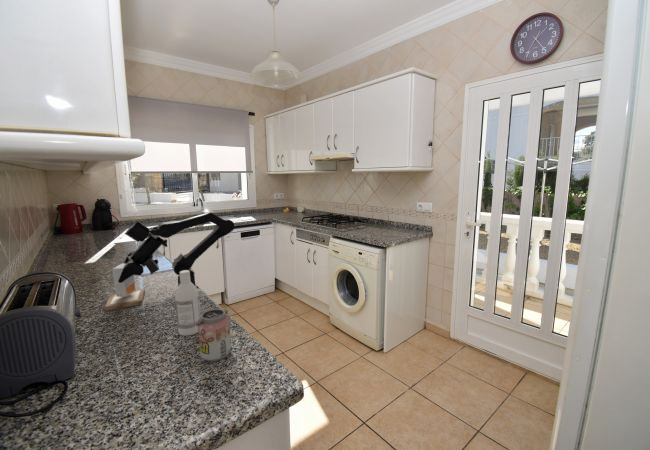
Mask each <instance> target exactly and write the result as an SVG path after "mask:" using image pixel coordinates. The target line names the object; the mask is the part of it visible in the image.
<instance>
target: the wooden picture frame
mask: <svg viewBox="0 0 650 450" xmlns="http://www.w3.org/2000/svg"><path fill="white" fill-rule="evenodd" d="M135 290H136V291H134V292H133V293H131V294H130V295H128V296H127V297H116V292H115V293H111V294H110V296H109V298H108V300H107V302H106V303H105V305H104V311H109V310H117V309H123V308H127V307H133V306H139V305H143V303H144V302H143V301H144V300H145V299H144V298H145V294H146V289H145V288H140V289H135Z"/></svg>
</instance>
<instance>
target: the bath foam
mask: <svg viewBox="0 0 650 450" xmlns="http://www.w3.org/2000/svg"><path fill="white" fill-rule="evenodd" d="M179 276H180V282H181V283H180V285H179V287H178V286H177V289H176V291H175V292H174V293H175V294H174V302H175V312H176V313H175V314H176V323H177V331H178V334H179V335H180V336H185V337H187V336H192V335H193V336H194V335H195V334H199V333H198V326H196V325H195V323H196V322H197V321H198V319H200V315H201V314H202V313H201V312H202V311H201V304H200V303H201V301H200V294H199V290H198V288H196V287H195V286H196V285H195V286H194V285H193V284H192V282H191V280H190V271H189V270H183V271H180V275H179Z"/></svg>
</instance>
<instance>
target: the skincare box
mask: <svg viewBox="0 0 650 450" xmlns="http://www.w3.org/2000/svg"><path fill="white" fill-rule="evenodd" d="M124 265H126V264H124V262H123V263H120V264H119V265H116V266H114V267H113V268H112V276H113V283H114V290H115V293H116V297H127V296H128V295H130V294H131V293H133V292H134V291H136V290H137V289H136V284H135V275H132V276H131V277H129V278H128V279H126V280H125V281H123V282H122V283H119V282H118V280H119V278H120V275H121V273H122V270H123V268H124Z"/></svg>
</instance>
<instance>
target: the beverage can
mask: <svg viewBox="0 0 650 450" xmlns="http://www.w3.org/2000/svg"><path fill="white" fill-rule="evenodd" d="M228 312H229V311H228V309H226V308H225V309H222V308H212V309H207V310H205V311H204V312H202V313H201V315H200V319H198V321H197V322H196V323H195V325H196V326H198V333H197V334H198V343H199V350H200V352H199V353H200V357H201V359H202V360H205V361H206V362H219V361H221V360H222V359H224V358H226V357H227V356H228V355H229V354H230V353H231V351H232V339H231V327H230V319H229V317H228V316H227V314H228Z"/></svg>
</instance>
